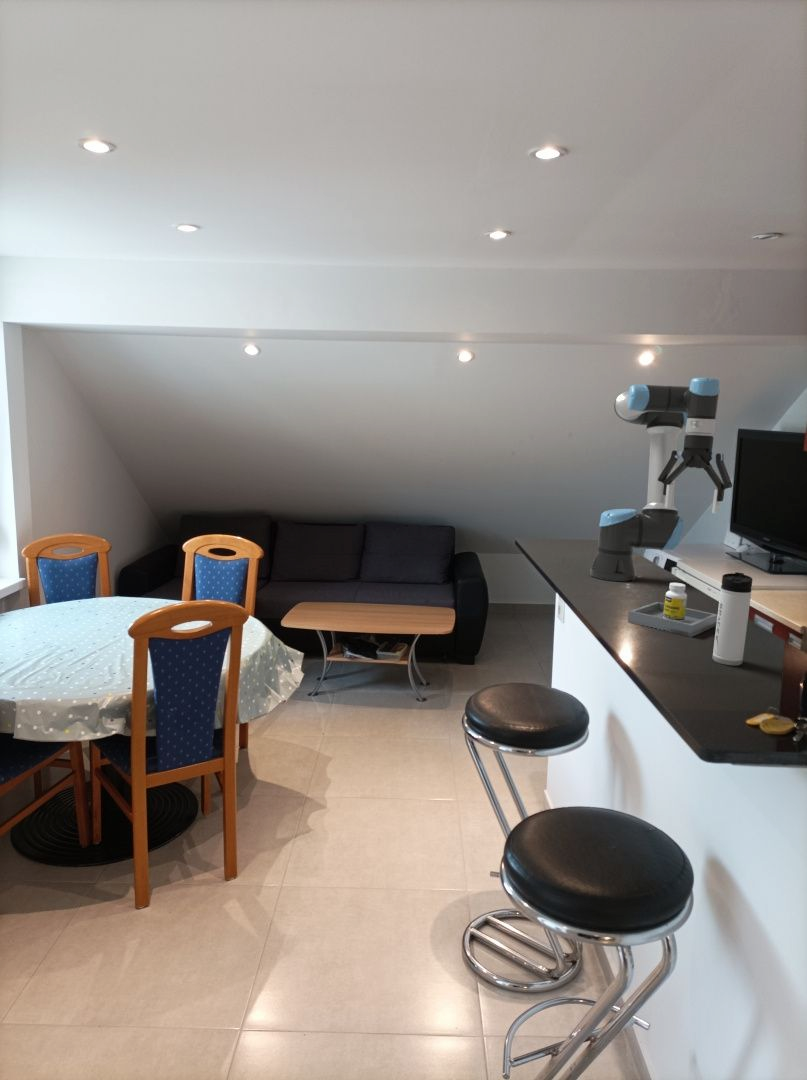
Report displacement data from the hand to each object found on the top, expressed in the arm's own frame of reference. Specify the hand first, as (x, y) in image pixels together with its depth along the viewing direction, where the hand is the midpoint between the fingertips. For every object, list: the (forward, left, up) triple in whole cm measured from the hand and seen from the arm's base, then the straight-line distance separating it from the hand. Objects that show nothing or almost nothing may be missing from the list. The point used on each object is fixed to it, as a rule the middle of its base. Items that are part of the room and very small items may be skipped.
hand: (690, 510), depth 212 cm
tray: (+19, +6, -29) cm, 35 cm away
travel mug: (+40, +28, -29) cm, 57 cm away
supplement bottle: (+19, +6, -28) cm, 34 cm away
